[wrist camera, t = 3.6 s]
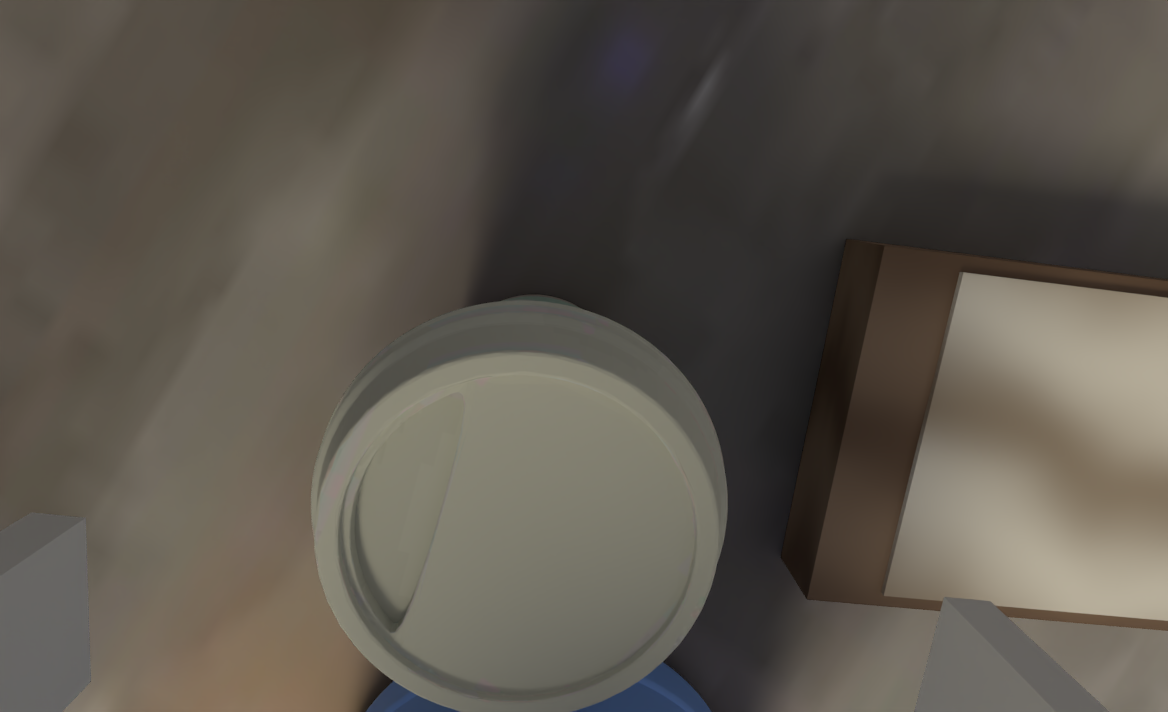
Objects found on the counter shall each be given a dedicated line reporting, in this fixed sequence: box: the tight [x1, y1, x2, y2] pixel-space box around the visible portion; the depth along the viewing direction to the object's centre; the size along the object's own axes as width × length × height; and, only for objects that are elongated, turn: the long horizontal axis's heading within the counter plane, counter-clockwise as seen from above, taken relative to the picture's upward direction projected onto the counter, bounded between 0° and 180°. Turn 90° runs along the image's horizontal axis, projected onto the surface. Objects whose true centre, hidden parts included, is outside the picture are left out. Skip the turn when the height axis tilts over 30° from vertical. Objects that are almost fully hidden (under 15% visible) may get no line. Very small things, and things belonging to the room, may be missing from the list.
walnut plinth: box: [781, 239, 1168, 631], centre depth 24 cm, size 12×16×3 cm
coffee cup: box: [311, 294, 728, 712], centre depth 19 cm, size 9×8×12 cm
